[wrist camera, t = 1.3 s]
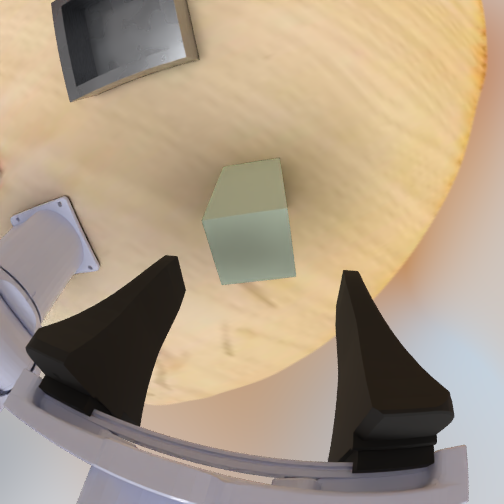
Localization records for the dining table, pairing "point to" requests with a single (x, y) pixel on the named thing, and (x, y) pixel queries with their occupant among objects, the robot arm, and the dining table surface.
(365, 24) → the dining table surface
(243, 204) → the green peg
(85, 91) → the grey open box
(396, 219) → the dining table surface
